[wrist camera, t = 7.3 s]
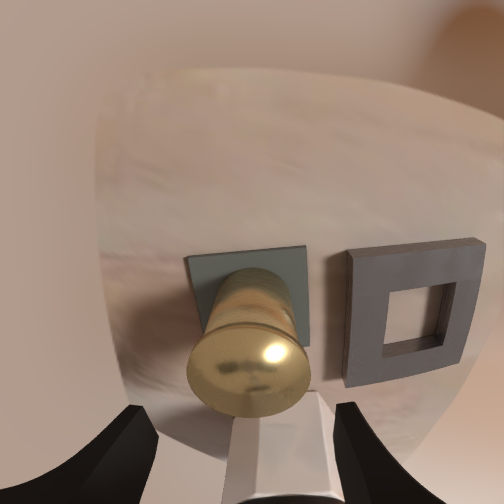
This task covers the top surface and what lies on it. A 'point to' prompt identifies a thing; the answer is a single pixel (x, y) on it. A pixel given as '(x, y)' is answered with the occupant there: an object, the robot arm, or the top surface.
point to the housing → (403, 278)
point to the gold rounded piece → (250, 349)
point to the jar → (284, 457)
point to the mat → (275, 260)
